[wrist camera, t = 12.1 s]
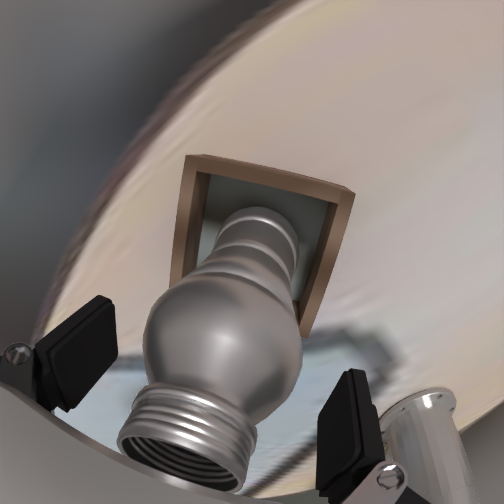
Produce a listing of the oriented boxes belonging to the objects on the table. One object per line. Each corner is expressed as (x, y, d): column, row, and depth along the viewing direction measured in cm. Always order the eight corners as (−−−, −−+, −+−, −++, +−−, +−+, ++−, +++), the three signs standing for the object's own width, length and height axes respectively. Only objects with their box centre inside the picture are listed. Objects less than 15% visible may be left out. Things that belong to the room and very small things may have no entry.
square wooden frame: (306, 310, 26) (307, 337, 22) (186, 279, 27) (168, 301, 23) (344, 186, 22) (355, 193, 18) (205, 154, 23) (185, 155, 19)
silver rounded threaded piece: (283, 190, 22) (236, 375, 4) (309, 264, 24) (323, 505, 6) (211, 216, 24) (33, 382, 5) (241, 284, 26) (156, 498, 7)
